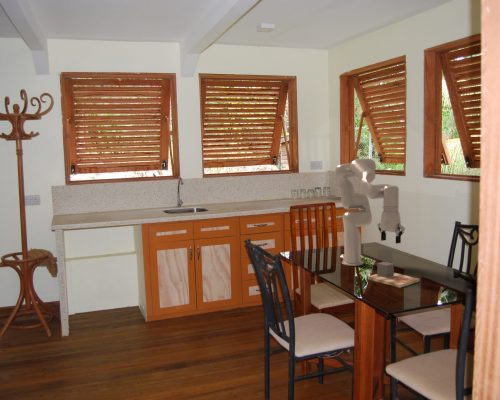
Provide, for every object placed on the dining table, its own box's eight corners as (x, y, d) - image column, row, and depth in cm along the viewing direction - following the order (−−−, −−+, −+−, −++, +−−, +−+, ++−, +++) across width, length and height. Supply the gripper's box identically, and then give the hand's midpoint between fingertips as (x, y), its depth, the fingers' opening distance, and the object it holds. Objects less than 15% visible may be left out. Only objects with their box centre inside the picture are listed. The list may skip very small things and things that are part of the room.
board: (367, 279, 255) (368, 267, 254) (387, 273, 265) (387, 262, 264) (400, 287, 239) (400, 274, 238) (419, 281, 249) (419, 269, 248)
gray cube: (377, 275, 256) (377, 263, 256) (384, 273, 260) (384, 261, 259) (386, 277, 252) (386, 265, 251) (393, 275, 255) (393, 263, 254)
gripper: (373, 208, 256) (373, 240, 258) (399, 211, 242) (399, 245, 244) (382, 207, 260) (382, 238, 262) (409, 210, 246) (409, 243, 248)
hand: (390, 241), depth 253 cm, fingers open, 9 cm apart
